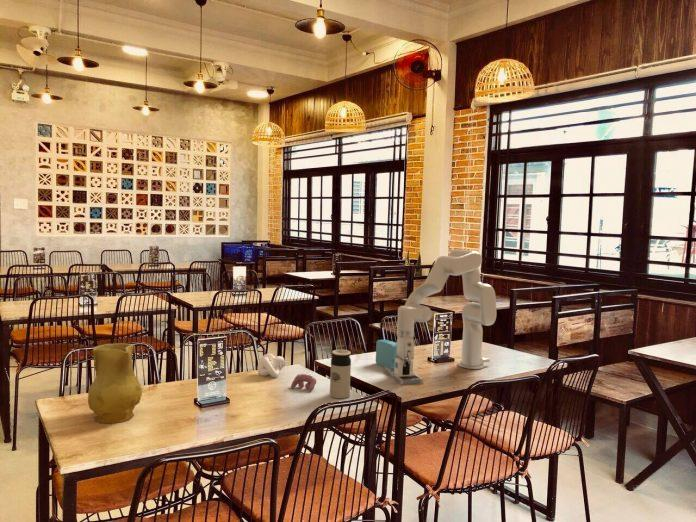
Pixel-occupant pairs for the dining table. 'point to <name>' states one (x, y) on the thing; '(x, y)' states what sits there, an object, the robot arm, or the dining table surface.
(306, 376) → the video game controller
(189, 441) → the dining table surface
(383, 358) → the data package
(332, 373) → the travel mug
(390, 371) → the grey rectangular frame
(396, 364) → the module
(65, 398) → the dining table surface
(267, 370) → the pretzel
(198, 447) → the dining table surface
